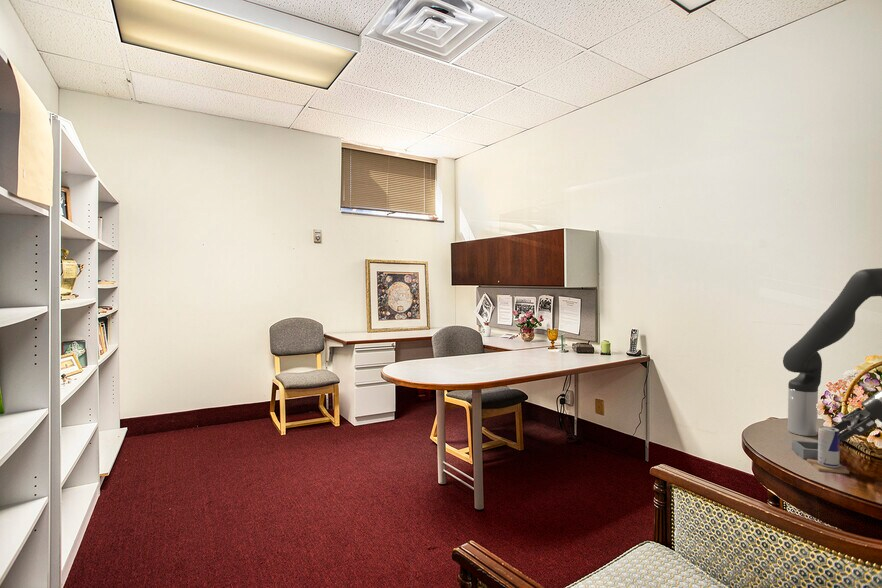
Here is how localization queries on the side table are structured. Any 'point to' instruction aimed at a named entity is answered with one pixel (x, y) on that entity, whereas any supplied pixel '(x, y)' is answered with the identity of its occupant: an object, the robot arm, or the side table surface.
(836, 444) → the energy drink
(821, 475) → the side table surface
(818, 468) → the light tan wooden coaster
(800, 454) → the square collar
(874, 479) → the side table surface
